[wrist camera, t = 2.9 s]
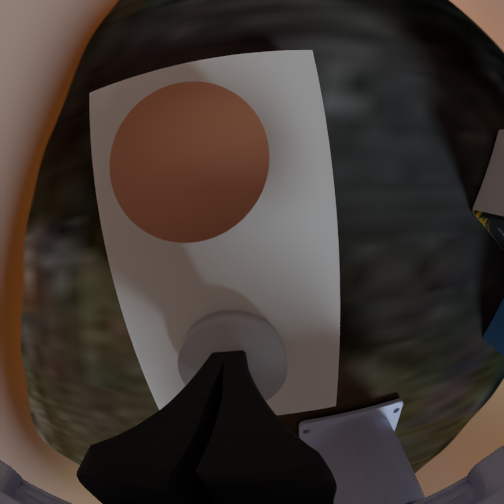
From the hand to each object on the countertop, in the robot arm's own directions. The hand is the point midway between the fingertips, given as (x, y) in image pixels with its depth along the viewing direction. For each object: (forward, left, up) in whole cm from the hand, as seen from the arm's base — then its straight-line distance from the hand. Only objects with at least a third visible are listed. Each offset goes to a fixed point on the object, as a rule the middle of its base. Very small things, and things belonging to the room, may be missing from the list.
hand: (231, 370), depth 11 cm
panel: (+4, 0, -4) cm, 6 cm away
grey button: (0, 0, -4) cm, 4 cm away
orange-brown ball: (+8, 0, -2) cm, 8 cm away
